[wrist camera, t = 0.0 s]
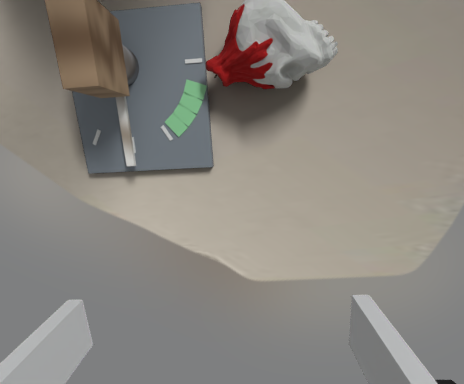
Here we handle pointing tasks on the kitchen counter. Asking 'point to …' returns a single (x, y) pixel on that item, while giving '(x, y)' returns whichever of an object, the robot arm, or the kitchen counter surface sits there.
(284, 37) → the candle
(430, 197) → the kitchen counter surface
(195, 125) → the dial board
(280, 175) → the kitchen counter surface
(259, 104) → the kitchen counter surface
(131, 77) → the knob
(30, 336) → the robot arm
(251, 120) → the kitchen counter surface
